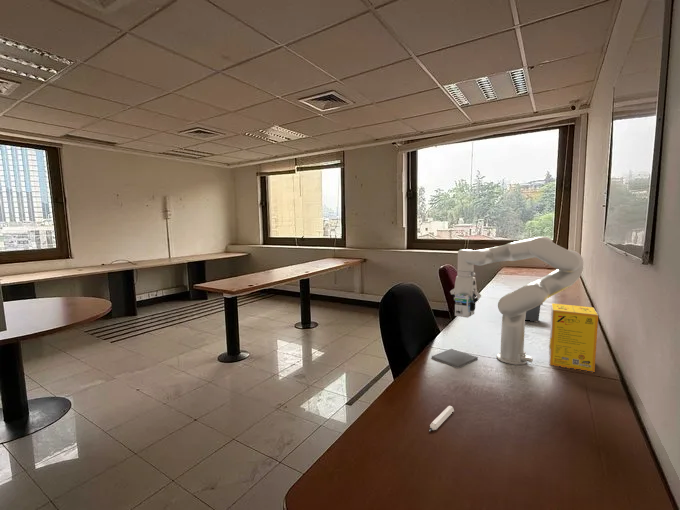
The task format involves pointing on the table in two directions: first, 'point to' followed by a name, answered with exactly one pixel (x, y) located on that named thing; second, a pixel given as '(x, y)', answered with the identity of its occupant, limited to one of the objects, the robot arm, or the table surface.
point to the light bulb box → (463, 306)
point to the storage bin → (533, 314)
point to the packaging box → (573, 336)
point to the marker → (441, 418)
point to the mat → (454, 358)
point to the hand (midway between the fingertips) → (464, 308)
